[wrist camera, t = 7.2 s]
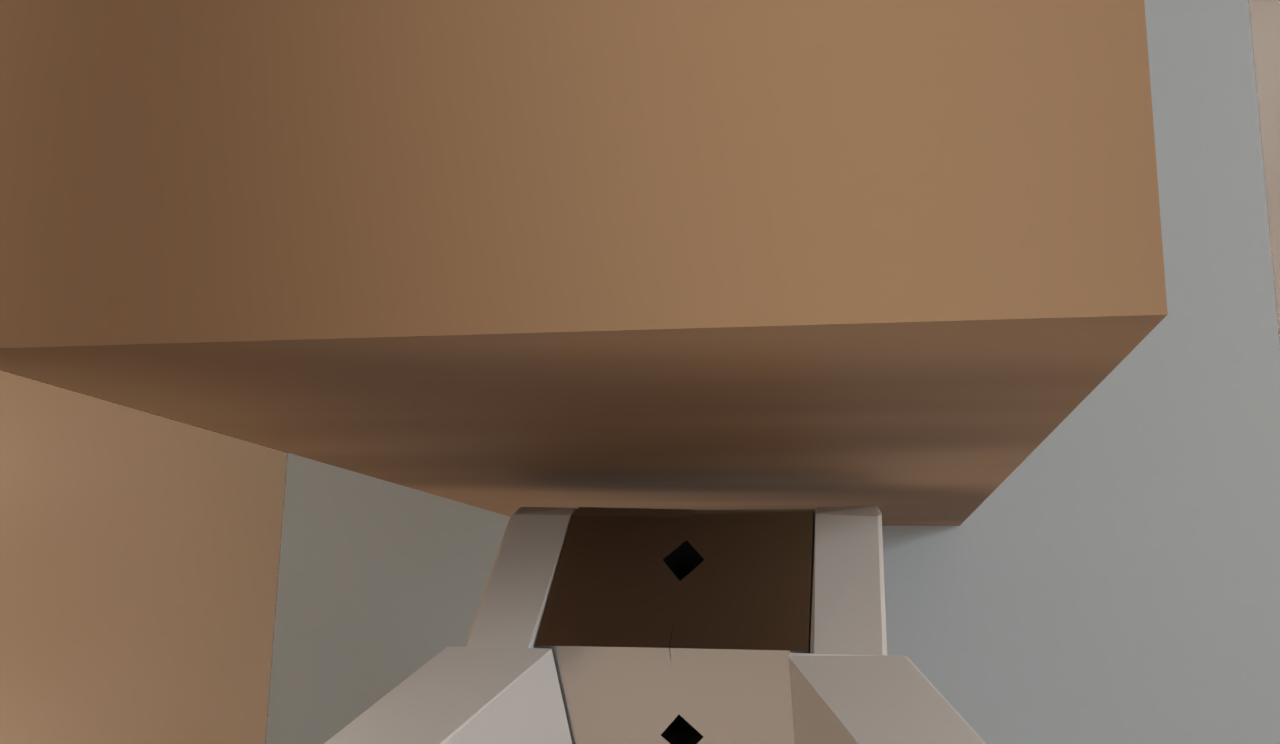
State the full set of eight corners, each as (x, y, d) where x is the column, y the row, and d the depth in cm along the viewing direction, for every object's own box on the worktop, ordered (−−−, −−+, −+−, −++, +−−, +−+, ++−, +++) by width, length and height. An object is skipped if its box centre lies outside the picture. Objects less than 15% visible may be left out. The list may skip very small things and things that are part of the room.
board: (1174, -31, 18) (1235, -157, 15) (1268, 1173, 15) (1365, 1307, 12) (405, 26, 20) (327, -74, 17) (341, 1085, 17) (231, 1181, 14)
